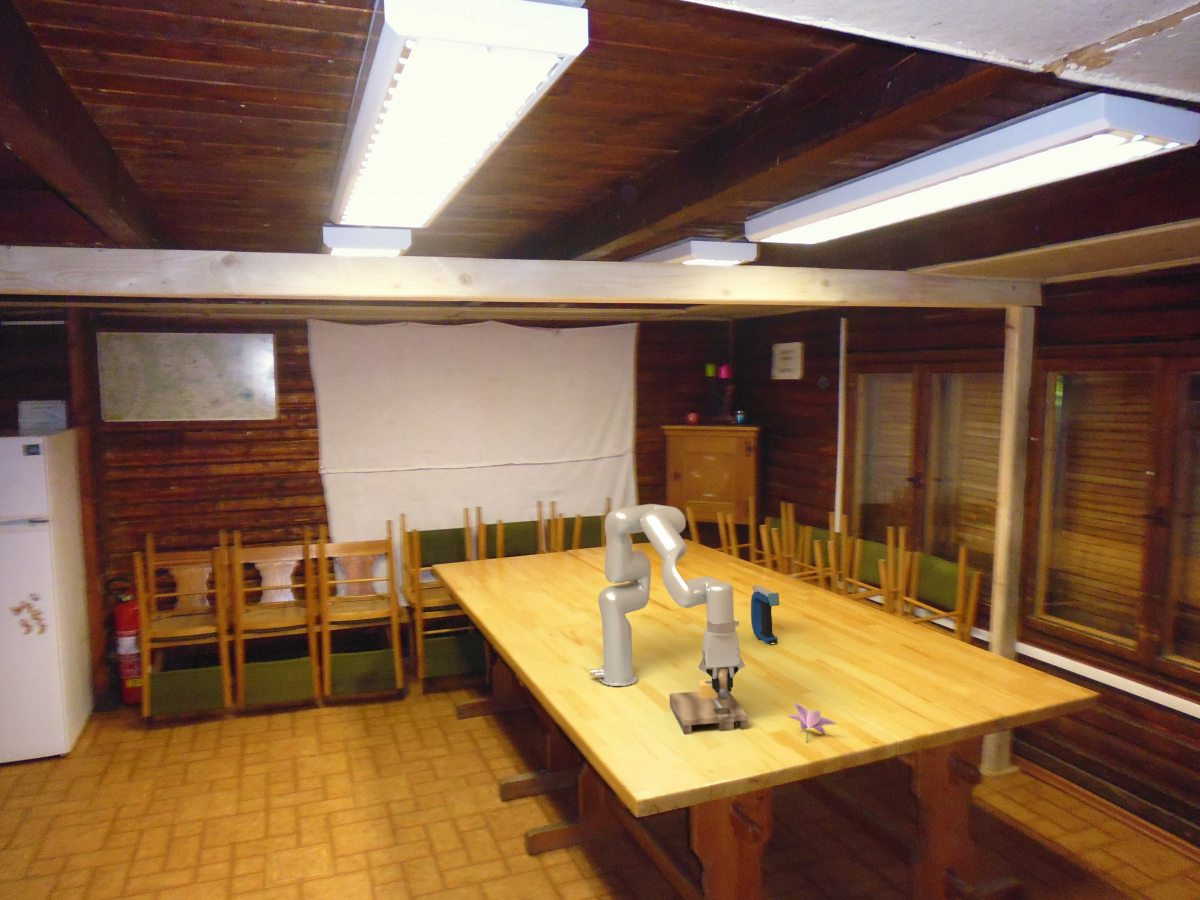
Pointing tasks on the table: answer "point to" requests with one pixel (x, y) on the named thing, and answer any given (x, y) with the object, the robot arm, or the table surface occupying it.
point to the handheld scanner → (763, 613)
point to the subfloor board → (707, 711)
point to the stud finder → (706, 689)
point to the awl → (722, 683)
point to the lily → (811, 719)
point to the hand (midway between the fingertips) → (722, 690)
